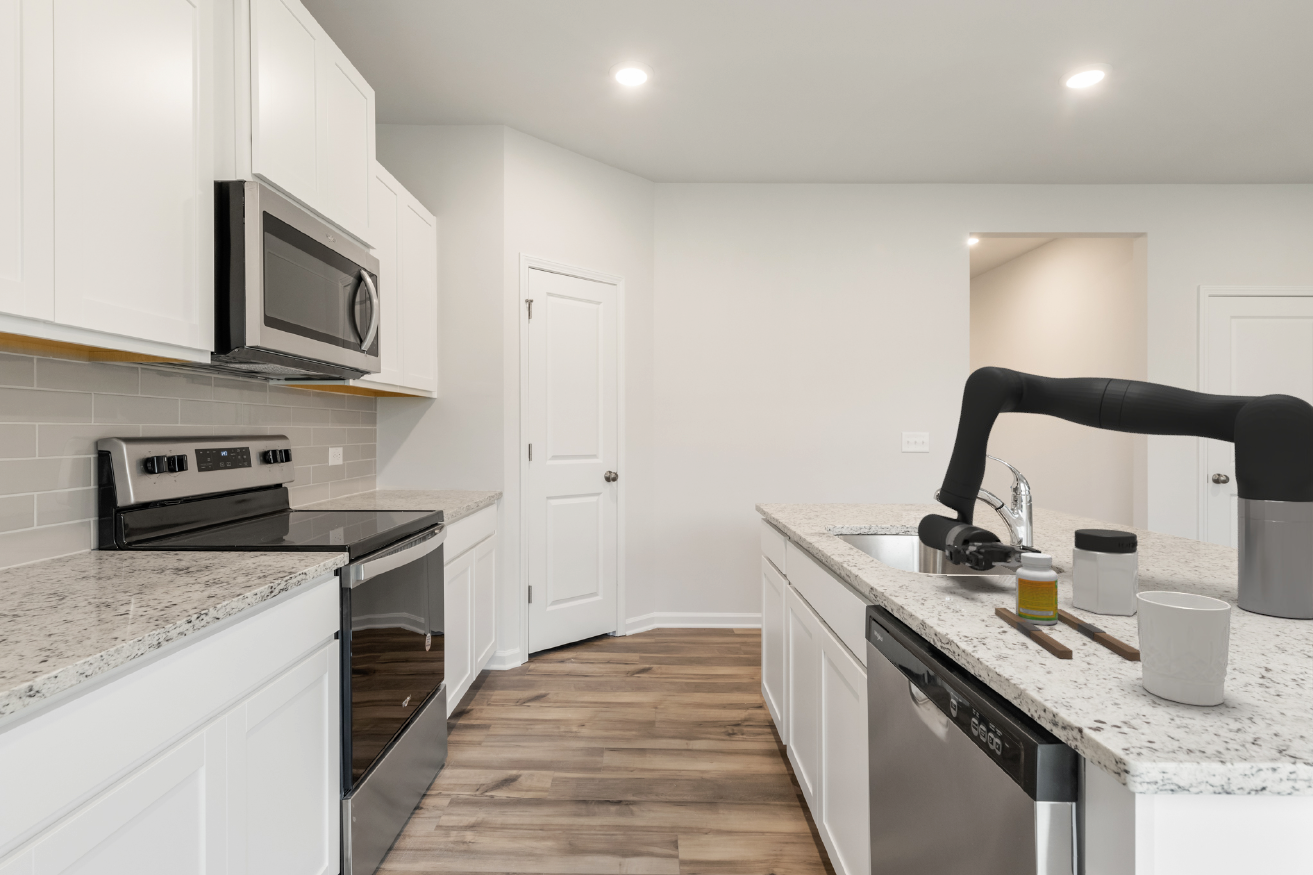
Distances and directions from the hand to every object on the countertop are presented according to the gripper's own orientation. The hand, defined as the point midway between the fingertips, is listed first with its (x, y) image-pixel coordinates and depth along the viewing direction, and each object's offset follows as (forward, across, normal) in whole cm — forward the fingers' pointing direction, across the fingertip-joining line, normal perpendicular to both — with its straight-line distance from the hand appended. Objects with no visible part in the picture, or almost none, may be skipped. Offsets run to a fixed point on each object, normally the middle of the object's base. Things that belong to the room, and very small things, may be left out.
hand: (1008, 563), depth 107 cm
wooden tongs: (+17, 0, +6) cm, 18 cm away
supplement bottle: (+10, 0, +7) cm, 12 cm away
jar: (+2, +13, +7) cm, 15 cm away
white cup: (+37, +3, +7) cm, 38 cm away
